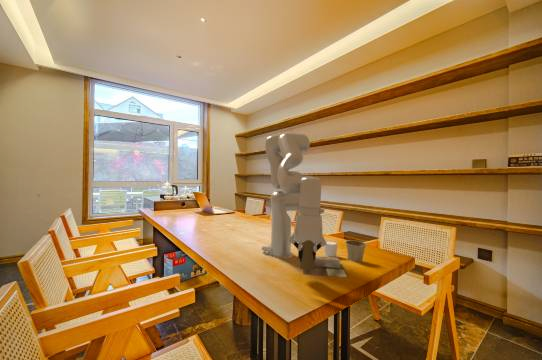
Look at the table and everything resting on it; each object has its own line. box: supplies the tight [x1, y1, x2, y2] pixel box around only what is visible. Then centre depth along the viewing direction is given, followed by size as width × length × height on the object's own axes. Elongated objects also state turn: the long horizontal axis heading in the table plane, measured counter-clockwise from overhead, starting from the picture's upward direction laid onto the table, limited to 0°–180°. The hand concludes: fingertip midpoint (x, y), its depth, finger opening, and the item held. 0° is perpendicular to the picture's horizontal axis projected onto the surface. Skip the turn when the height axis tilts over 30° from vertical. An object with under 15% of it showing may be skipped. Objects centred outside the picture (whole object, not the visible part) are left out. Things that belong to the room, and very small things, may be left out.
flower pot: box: [344, 239, 367, 263], centre depth 110 cm, size 9×9×9 cm
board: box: [302, 255, 349, 278], centre depth 97 cm, size 17×14×4 cm
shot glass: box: [323, 240, 338, 258], centre depth 115 cm, size 7×7×7 cm
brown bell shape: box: [298, 240, 315, 271], centre depth 86 cm, size 6×6×11 cm
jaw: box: [315, 257, 341, 268], centre depth 99 cm, size 15×3×4 cm, turn 82°
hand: (306, 260), depth 86 cm, fingers closed on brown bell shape, 3 cm apart
